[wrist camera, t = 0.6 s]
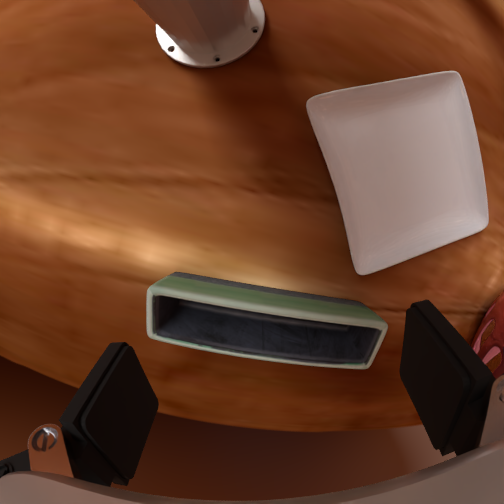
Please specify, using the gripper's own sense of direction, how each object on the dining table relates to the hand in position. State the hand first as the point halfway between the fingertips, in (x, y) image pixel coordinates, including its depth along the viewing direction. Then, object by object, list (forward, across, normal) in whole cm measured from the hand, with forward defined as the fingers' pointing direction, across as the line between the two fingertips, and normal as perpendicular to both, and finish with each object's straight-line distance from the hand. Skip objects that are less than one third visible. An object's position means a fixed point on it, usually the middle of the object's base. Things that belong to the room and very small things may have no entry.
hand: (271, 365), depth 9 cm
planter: (+27, +2, +12) cm, 30 cm away
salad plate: (+27, -18, -3) cm, 33 cm away
